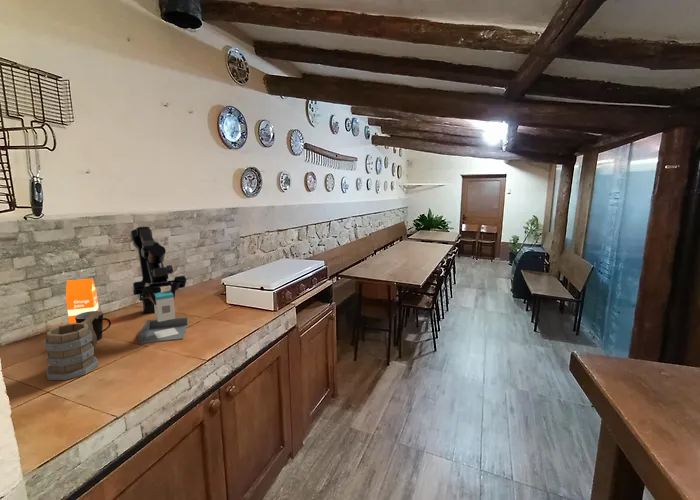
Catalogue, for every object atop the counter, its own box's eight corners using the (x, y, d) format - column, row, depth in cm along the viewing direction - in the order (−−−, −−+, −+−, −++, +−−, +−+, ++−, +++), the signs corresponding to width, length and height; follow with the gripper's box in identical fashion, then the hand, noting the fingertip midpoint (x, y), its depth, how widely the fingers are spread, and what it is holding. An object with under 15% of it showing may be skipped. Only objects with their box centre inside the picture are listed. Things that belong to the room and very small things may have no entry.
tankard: (76, 381, 105) (70, 334, 103) (35, 379, 106) (28, 333, 103) (120, 350, 125) (116, 311, 123) (86, 350, 125) (81, 310, 123)
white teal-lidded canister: (155, 317, 139) (153, 293, 137) (171, 314, 143) (169, 290, 141) (158, 322, 135) (156, 297, 133) (175, 318, 138) (173, 294, 137)
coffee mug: (73, 341, 132) (70, 316, 130) (98, 333, 140) (95, 309, 138) (89, 348, 127) (86, 322, 125) (114, 339, 134) (112, 314, 133)
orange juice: (75, 323, 149) (69, 278, 145) (100, 320, 153) (95, 276, 149) (69, 330, 142) (63, 282, 138) (96, 327, 146) (90, 280, 142)
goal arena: (148, 328, 145) (147, 320, 144) (187, 324, 150) (187, 316, 149) (138, 343, 131) (137, 335, 130) (182, 339, 135) (182, 330, 135)
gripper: (131, 261, 132) (138, 297, 125) (183, 256, 144) (193, 288, 137) (129, 277, 139) (136, 311, 133) (180, 271, 151) (188, 302, 144)
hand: (164, 303), depth 137 cm, fingers closed on white teal-lidded canister, 6 cm apart
